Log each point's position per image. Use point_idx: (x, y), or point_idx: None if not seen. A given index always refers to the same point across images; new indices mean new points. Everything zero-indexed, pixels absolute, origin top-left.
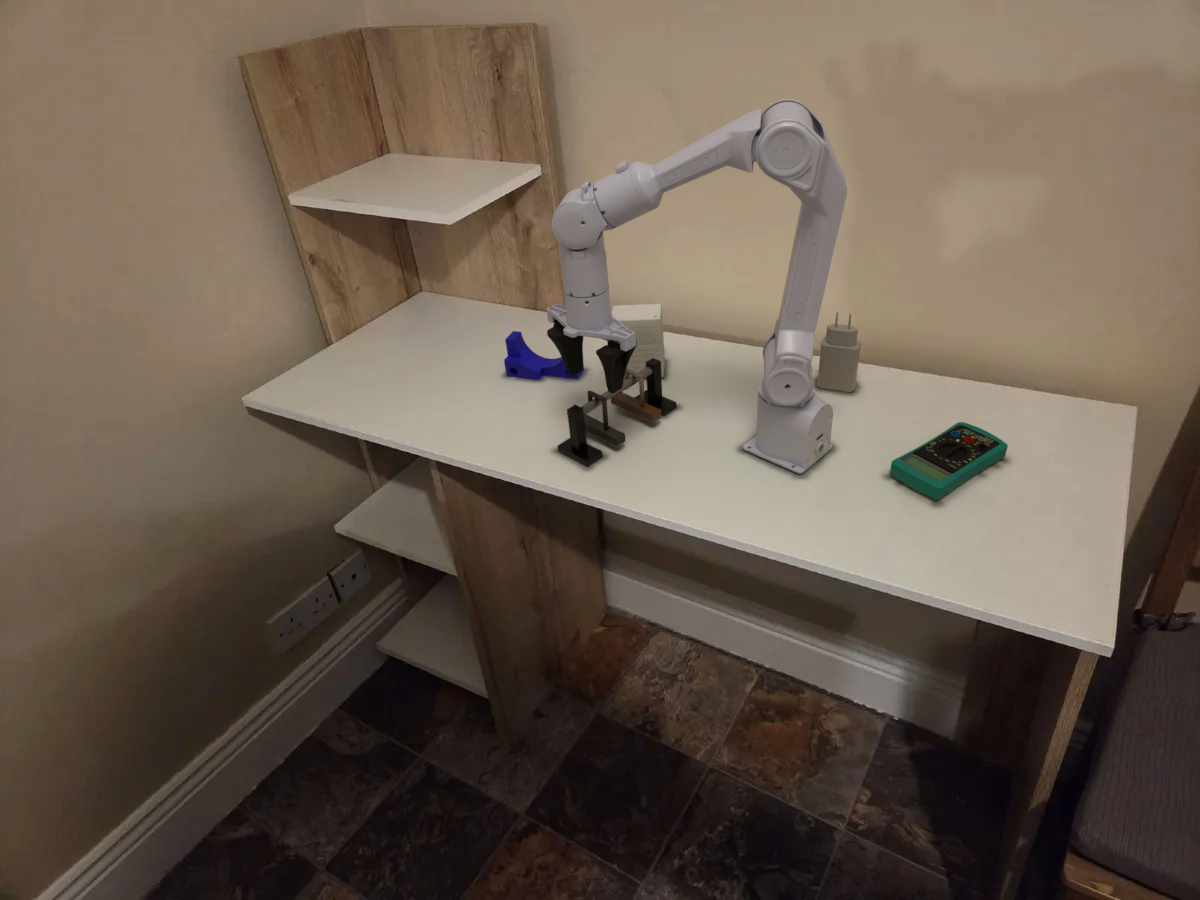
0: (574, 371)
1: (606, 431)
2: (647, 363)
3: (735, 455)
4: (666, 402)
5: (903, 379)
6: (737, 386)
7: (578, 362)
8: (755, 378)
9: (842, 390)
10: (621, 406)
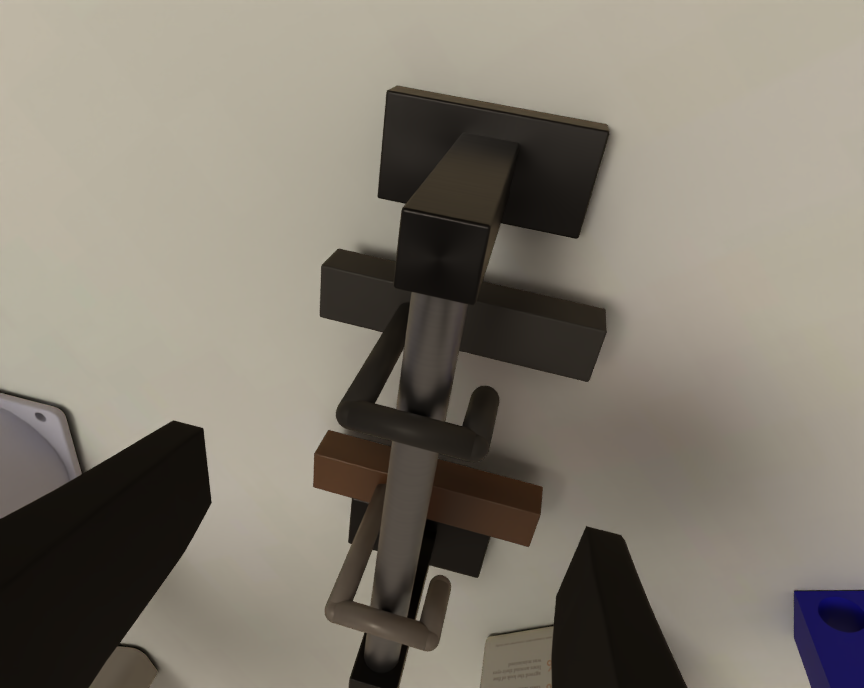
0: (578, 570)
1: (395, 297)
2: (386, 686)
3: (59, 380)
4: None
5: None
6: (285, 629)
7: (566, 658)
8: (273, 659)
9: None
10: (484, 477)
